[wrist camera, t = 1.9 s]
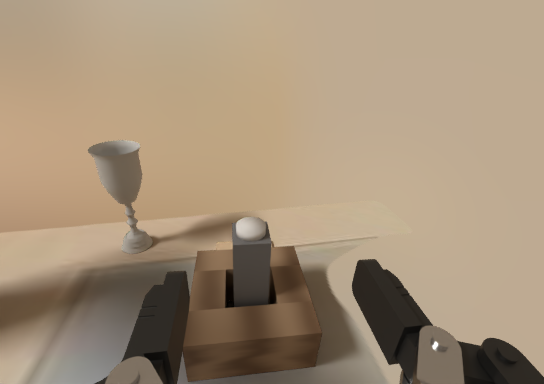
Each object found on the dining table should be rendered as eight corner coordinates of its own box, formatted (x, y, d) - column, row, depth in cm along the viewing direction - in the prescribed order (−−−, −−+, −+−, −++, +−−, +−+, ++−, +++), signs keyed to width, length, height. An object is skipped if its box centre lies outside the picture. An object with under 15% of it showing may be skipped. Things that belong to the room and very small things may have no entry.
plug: (234, 333, 33) (232, 237, 26) (234, 306, 37) (232, 215, 30) (266, 330, 34) (272, 235, 27) (262, 304, 37) (267, 214, 31)
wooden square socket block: (187, 381, 28) (181, 346, 25) (200, 281, 40) (197, 251, 38) (314, 366, 30) (322, 332, 27) (290, 275, 43) (293, 246, 40)
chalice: (161, 250, 46) (142, 152, 38) (116, 262, 43) (86, 158, 35) (154, 228, 52) (137, 138, 44) (115, 238, 49) (88, 142, 40)
